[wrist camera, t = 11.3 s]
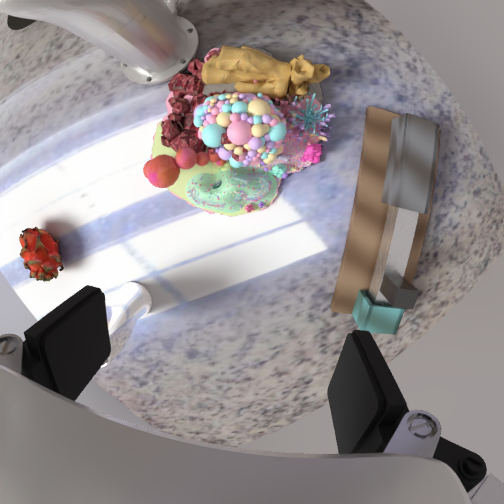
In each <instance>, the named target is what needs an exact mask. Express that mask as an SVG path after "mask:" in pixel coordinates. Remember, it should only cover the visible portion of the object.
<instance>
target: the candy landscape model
mask: <svg viewBox="0 0 504 504" xmlns="http://www.w3.org/2000/svg"><path fill="white" fill-rule="evenodd" d="M188 71H190V72H191V73H193V75H190V73H186V74H183V73H178V74H177V75H176V76H175V77H174V78H173V79H172V80H171V81H170V83H169V84H168V86H169V90H170V91H171V93H170V94H169V96H168V98H167V99H166V105H167V109H168V115H167V116H165V117H164V118H163V120H162V121H161V122H159V123H158V124H157V129H156V132H155V135H154V136H153V141H154V143H153V148H152V154H151V160H149V161H147V163H146V164H145V165H144V168H143V172H144V175H145V177H147V178H148V179H149V181H150V183H151V184H153V185H154V186H156V187H159V188H168V190H169V191H170V193H171V194H173V195H175V196H177V197H178V198H180V199H184V200H186V201H187V203H188V204H190V205H192V206H193V207H195V206H196V207H199V208H201V209H203V210H204V211H206V212H208V213H209V214H213V213H219V214H221V215H228V216H229V217H232V216H237V215H242V214H246V213H251V212H255V211H260V210H264V209H265V208H266V206H267V205H269V204H271V203H272V202H273V200H274V199H275V197H276V196H277V194H278V187H279V186H280V184H281V183H280V181H281V179H282V178H283V179H285V178H286V177H287V176H288V173H293V172H298V171H300V170H301V169H303V168H302V167H308V166H310V165H311V163H312V162H313V163H319V161H320V155H321V154H322V151H321V145H322V146H323V144H322V143H320V144H318V142H319V140H322V141H329V140H327V138H326V137H330V136H329V135H327V134H330V133H329V132H327V133H325V132H321V131H320V130H321V129H323V128H321V127H323V126H326V127H328V125H326V123H325V122H326V121H328V122H330V120H331V117H336V116H335V114H330V115H328V114H329V113H327V114H326V118H324V117H325V115H324V116H323V113H325V112H327V111H329V109H327V108H328V107H330V108H331V105H330V104H326V105H325V106H324V107H323V108H324V110H322V104H321V103H322V99H323V95H322V91H321V87H320V82H321V81H322V80H324V79H326V78H327V77H328V76H329V75H330V68H329V67H327V66H326V65H325V64H313V65H312V63H311V60H305V59H304V57H303V55H301V56H299V57H297V58H294V59H293V60H292V61H291V62H290V63H287V62H282V61H279V60H277V59H275V58H273V56H272V54H271V53H269V52H267V51H265V50H263V49H261V48H258V47H256V48H250V47H247V46H242V48H236V47H231V46H226V45H222V47H221V48H220V49H218V48H213V49H211V50H210V51H209V52H208V54H207V55H206V57H205V58H204V63H203V62H202V61H200V60H199V59H198V58H194V59H193V60H192V61H191V62H190V63H189V66H188ZM320 104H321V105H320ZM322 116H323V118H322ZM330 128H332V127H329V128H328V129H330ZM325 130H326V129H325V128H324V129H323V131H325ZM321 135H323V136H326V137H323V136H321ZM322 149H325V148H322Z"/></svg>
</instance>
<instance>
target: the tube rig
mask: <svg viewBox="0 0 504 504" xmlns="http://www.w3.org/2000/svg"><path fill="white" fill-rule="evenodd" d="M440 133H441V130H439V125H437V124H435V123H432V122H430V121H427V120H425V119H422V118H419V117H417V116H414V115H411V114H408V113H407V114H404V115H402V116H401V115H398V114H395V113H392V112H389V111H386V110H383V109H379V108H376V107H372V106H369V107H367V109H366V119H365V129H364V137H363V145H362V153H361V160H360V167H359V174H358V181H357V187H356V193H355V199H354V204H353V210H352V215H351V220H350V226H349V231H348V235H347V240H346V245H345V250H344V254H343V259H342V263H341V267H340V271H339V276H338V280H337V284H336V288H335V292H334V296H333V299H332V303H331V310H332V312H339V313H348V314H352V315H353V317H354V319H355V321H356V323H357V325H358V327H359V329H360V330H365V331H369V332H370V333H383V334H396V332H397V329H398V327H399V324H400V321H401V319H402V316H403V313H404V310H405V309H404V308H396V307H392V306H384V305H374V304H372V303H371V302H370V300H369V299H368V297H367V295H368V291H369V288H370V284H371V281H372V277H373V273H374V270H375V266H376V262H377V258H378V254H379V250H380V245H381V241H382V237H383V232H384V228H385V223H386V218H387V213H388V208H389V205H391V206H394V207H398V208H402V209H407V210H411V211H415V212H419V215H418V220H417V225H416V229H415V234H414V238H413V242H412V246H411V250H410V254H409V258H408V262H407V266H406V269H405V273H404V276H403V277H404V278H405V279H406V280H407V281H409V282H410V283H411V284H412V282H413V279H414V275H415V272H416V268H417V265H418V261H419V257H420V254H421V250H422V246H423V242H424V237H425V233H426V229H427V224H428V219H429V214H430V209H431V204H432V198H433V192H434V186H435V179H436V172H437V164H438V155H439V145H440Z"/></svg>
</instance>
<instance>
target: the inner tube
mask: <svg viewBox="0 0 504 504" xmlns="http://www.w3.org/2000/svg"><path fill="white" fill-rule="evenodd" d="M418 215H419V212H415V211H411V210H407V209H402V208H398V207H394V206H391V205H389V208H388V213H387V218H386V223H385V228H384V232H383V237H382V241H381V245H380V250H379V254H378V258H377V262H376V266H375V270H374V273H373V277H372V281H371V284H370V288H369V291H368V295H367V297H368V299H369V300H370V302H371V303H372V304H374V305H384V306H392V307H396V308H407V309H413V307H414V304H415V301H416V298H417V295H418V292H419V291H418V290H417V289H416V288H415V287H414V286H413V285H412V284H411V283H410V282H409V281H407V280H406V279H405V278H404V277H403V276H404V273H405V269H406V266H407V262H408V258H409V254H410V250H411V246H412V242H413V238H414V234H415V229H416V225H417V220H418Z"/></svg>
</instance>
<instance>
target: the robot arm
mask: <svg viewBox="0 0 504 504" xmlns="http://www.w3.org/2000/svg"><path fill="white" fill-rule="evenodd" d="M178 1H179V0H166V2H164V1H163V0H0V12H3V13H5V14H8V15H11V16H15V17H20V18H26V19H33V20H39V21H44V22H48V23H51V24H54V25H57V26H59V27H61V28H64V29H66V30H68V31H70V32H72V33H74V34H76V35H77V36H79V37H81V38H83V39H85V40H86V41H88V42H90V43H92V44H93V45H95V46H97V47H98V48H100V49H102V50H103V51H105V52H107V53H108V54H110V55H112V56H113V57H115V58H116V59H118V60H120V64H121V68H122V71H123V72H124V74H125V75H126V76H127V77H128V78H129V79H130V80H132V81H133V82H135V83H138V84H141V85H157V84H161V83H164V82H167V81H169V80H171V79H173V78H174V77H175V76H176V75H177V74H178V73H182V72H183V71H184V70H185V69H186V68H187V67H188V66H189V63H190V62H191V61H192V60H193V59H194V57H195V56H196V53H197V50H198V47H199V36H198V33H197V30H196V29H195V27H194V25H193V24H192V23H191V22H190V21H188V20H187V19H185V18H183V17H180V16H177V9H176V6H177V4H178ZM184 62H186V63H184ZM183 63H184V64H183ZM151 79H152V80H151ZM24 335H25V338H26V340H25V341H24V342H23V341H22V339H21V338H20V337H19V336H17V335H14V334H5V335H1V336H0V504H504V483H502V482H501V481H500V480H499V479H498V478H496V477H495V476H494V475H493V474H491V473H490V474H489V475H488V476H487V475H486V470H487V469H486V464H485V462H484V460H483V459H482V458H481V457H480V456H479V455H478V454H476V453H474V452H471V451H469V450H467V449H465V448H463V447H461V446H459V445H456V444H455V443H452V442H450V441H448V440H446V439H444V438H442V437H440V435H441V429H442V428H441V425H440V422H439V421H438V419H437V418H436V417H435V416H434V415H432V414H430V413H429V412H426V411H423V410H413V411H410V412H409V410H408V407H407V404H406V402H405V399H404V397H403V395H402V393H401V391H400V389H399V387H398V385H397V383H396V381H395V379H394V377H393V375H392V373H391V371H390V369H389V368H388V366H387V363H386V361H385V359H384V358H383V356H382V354H381V352H380V350H379V348H378V346H377V344H376V342H375V341H374V339H373V337H372V335H371V333H370V332H369V331H365V330H354V331H353V332H352V333H349V334H348V335H347V337H346V340H345V343H344V346H343V349H342V352H341V354H340V357H339V360H338V363H337V365H336V368H335V371H334V373H333V376H332V379H331V381H330V384H329V386H328V399H329V404H330V409H331V414H332V419H333V424H334V429H335V435H336V440H337V446H338V452H339V454H304V453H283V452H270V451H259V450H251V449H242V448H236V447H229V446H223V445H217V444H211V443H206V442H201V441H196V440H191V439H187V438H183V437H178V436H174V435H170V434H166V433H163V432H159V431H155V430H152V429H149V428H145V427H142V426H138V425H135V424H132V423H129V422H126V421H124V420H121V419H118V418H115V417H112V416H109V415H107V414H104V413H101V412H99V411H96V410H94V409H91V408H89V407H87V406H84V405H82V404H79V403H77V402H75V400H76V399H77V397H78V396H79V395H80V393H81V392H82V391H83V389H84V388H85V387H86V385H87V384H88V383H89V382H90V380H91V379H92V378H93V376H94V375H95V374H96V373H97V371H98V370H99V369H100V367H101V366H102V365H103V364H104V362H105V361H106V360H107V359H108V357H109V356H110V353H111V344H110V337H109V330H108V322H107V313H106V303H105V295H104V293H102V291H101V289H100V288H97V287H93V286H88V285H87V286H85V287H84V288H82V289H81V290H79V291H78V292H77V293H75V294H74V295H73V296H71V297H70V298H68V299H67V300H66V301H64V302H63V303H62V304H60V305H59V306H58V307H56V308H55V309H54V310H52V311H51V312H50V313H48V314H47V315H46V316H44V317H43V318H42V319H40V320H39V321H38V322H37V323H35V324H34V325H33V326H31V327H30V328H29V329H28V330H26V331H25V332H24Z"/></svg>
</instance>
